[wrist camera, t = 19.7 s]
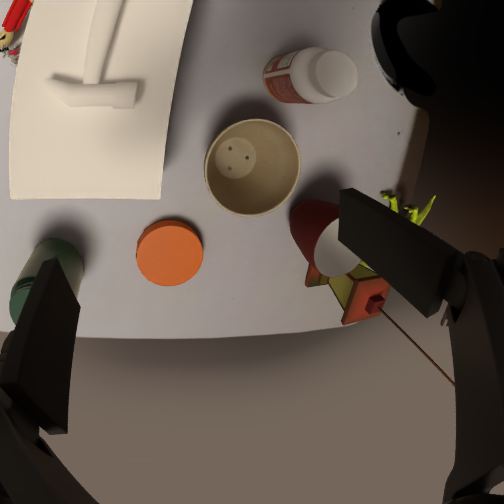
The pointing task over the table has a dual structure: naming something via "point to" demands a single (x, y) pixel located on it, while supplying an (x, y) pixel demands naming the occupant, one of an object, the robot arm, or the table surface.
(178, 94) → the table surface
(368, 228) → the robot arm
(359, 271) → the light fixture
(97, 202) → the table surface
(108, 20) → the hammer relief block
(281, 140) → the flower pot
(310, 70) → the pill bottle
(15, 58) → the figurine
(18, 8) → the figurine
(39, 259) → the jar
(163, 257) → the lid
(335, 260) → the mug
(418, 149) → the table surface
